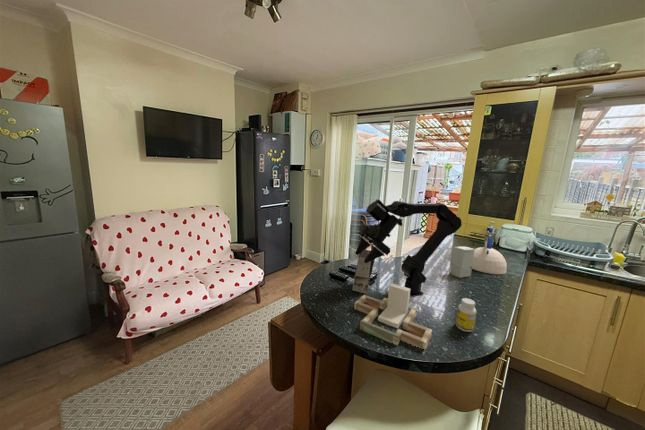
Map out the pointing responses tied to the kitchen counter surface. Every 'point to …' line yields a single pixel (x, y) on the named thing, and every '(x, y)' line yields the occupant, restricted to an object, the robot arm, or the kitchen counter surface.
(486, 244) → the pale pink dome
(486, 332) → the kitchen counter surface
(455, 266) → the skincare box
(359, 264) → the coffee box
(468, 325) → the supplement bottle
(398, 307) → the bookend
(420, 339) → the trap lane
